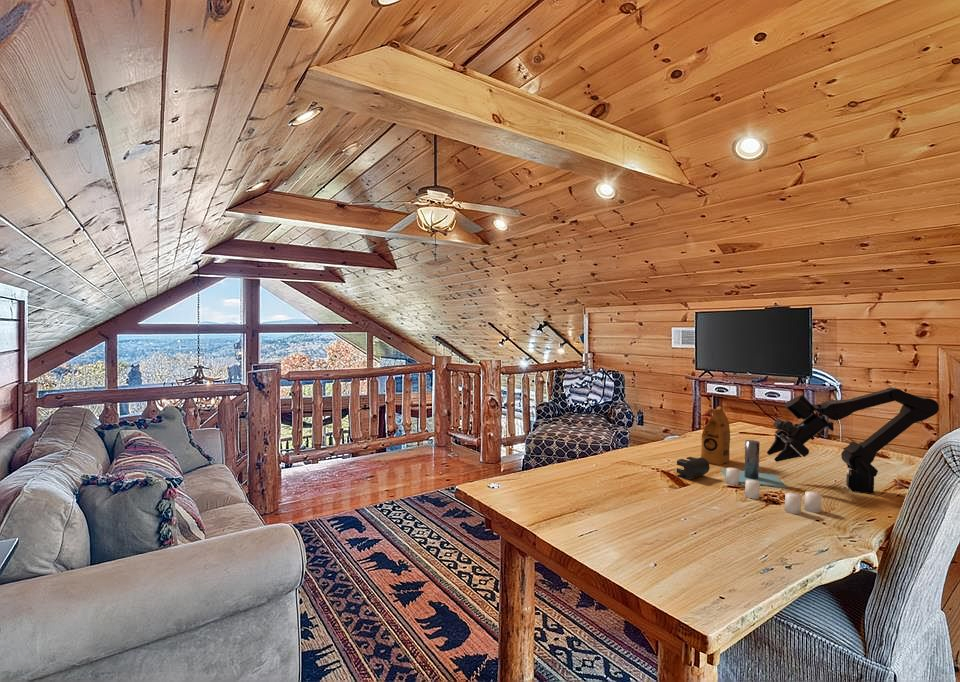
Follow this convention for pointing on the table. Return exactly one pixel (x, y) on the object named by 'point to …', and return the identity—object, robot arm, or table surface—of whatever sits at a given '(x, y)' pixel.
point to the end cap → (692, 467)
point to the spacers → (790, 498)
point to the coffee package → (716, 438)
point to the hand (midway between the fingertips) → (771, 457)
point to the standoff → (752, 459)
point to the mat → (761, 479)
